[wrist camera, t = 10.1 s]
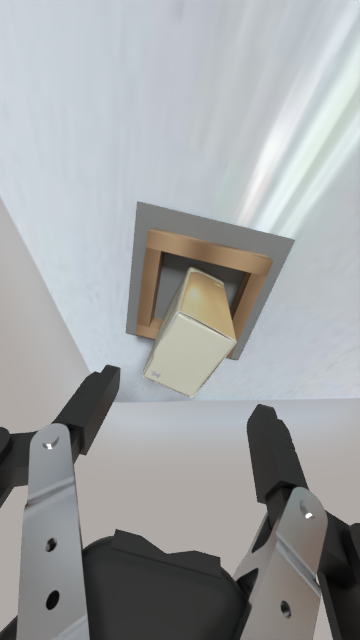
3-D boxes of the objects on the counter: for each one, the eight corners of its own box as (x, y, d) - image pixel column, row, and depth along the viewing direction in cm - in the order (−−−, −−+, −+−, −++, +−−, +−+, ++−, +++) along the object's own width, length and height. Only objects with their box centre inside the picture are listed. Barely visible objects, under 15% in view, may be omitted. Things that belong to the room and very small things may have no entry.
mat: (293, 239, 20) (295, 240, 20) (237, 358, 28) (238, 360, 28) (138, 201, 20) (137, 201, 20) (126, 330, 28) (125, 332, 28)
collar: (266, 255, 21) (273, 261, 19) (228, 345, 27) (230, 357, 25) (154, 228, 21) (147, 230, 19) (141, 324, 27) (135, 334, 25)
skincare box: (198, 322, 26) (190, 402, 15) (167, 306, 25) (138, 379, 15) (226, 279, 23) (241, 343, 12) (191, 260, 22) (176, 311, 12)
